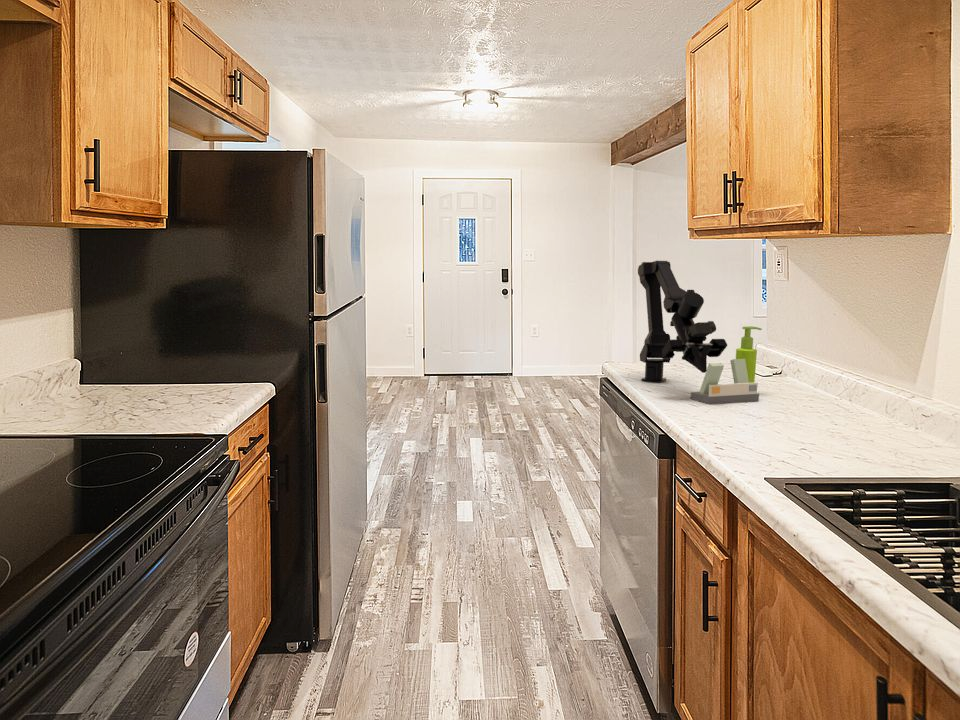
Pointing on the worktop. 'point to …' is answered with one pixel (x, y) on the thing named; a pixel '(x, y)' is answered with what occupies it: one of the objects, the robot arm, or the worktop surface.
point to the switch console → (728, 393)
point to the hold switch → (739, 371)
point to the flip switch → (711, 376)
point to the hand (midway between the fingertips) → (704, 371)
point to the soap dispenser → (748, 353)
